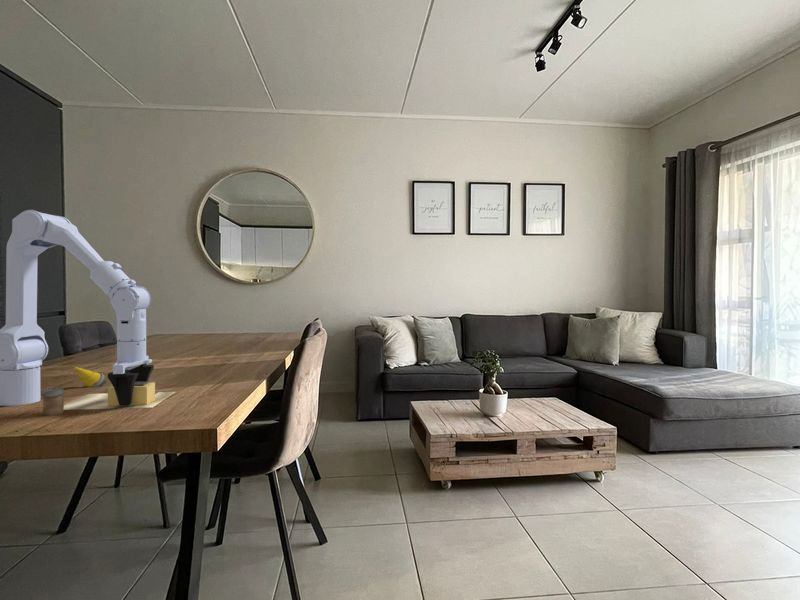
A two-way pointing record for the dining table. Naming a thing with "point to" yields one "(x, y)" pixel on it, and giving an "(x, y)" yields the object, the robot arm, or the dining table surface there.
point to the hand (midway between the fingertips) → (132, 400)
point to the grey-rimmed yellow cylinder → (90, 378)
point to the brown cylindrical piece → (53, 401)
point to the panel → (102, 402)
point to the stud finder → (135, 394)
